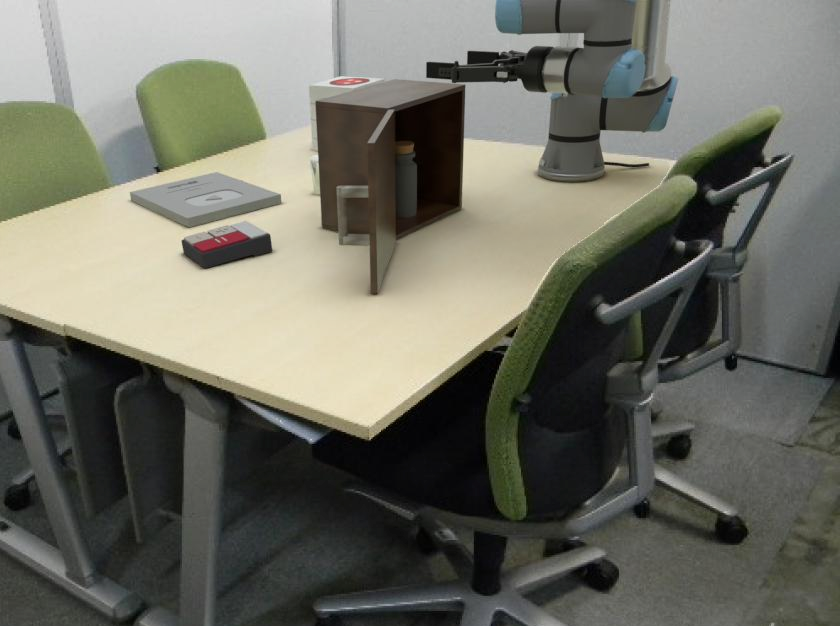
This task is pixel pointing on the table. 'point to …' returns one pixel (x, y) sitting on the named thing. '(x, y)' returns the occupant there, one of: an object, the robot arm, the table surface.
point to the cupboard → (414, 121)
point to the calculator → (226, 244)
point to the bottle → (405, 180)
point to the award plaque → (204, 198)
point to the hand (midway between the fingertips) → (448, 63)
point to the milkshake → (315, 173)
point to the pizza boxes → (332, 89)
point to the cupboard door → (375, 201)
